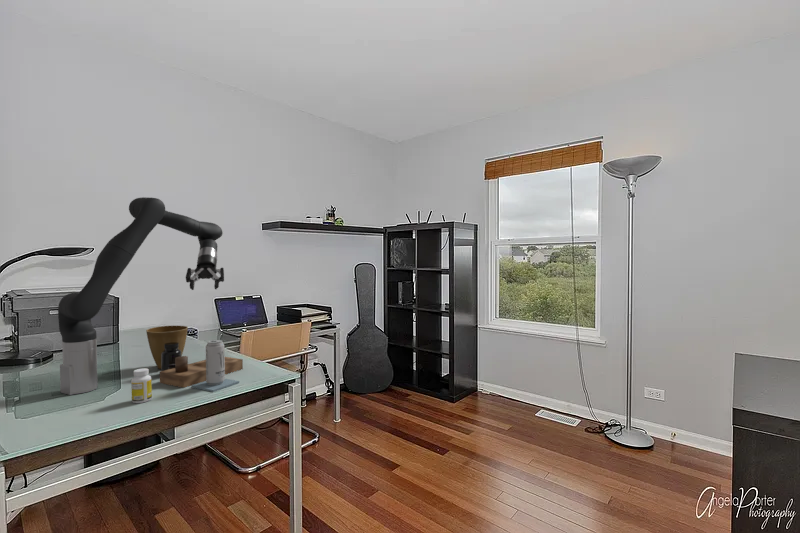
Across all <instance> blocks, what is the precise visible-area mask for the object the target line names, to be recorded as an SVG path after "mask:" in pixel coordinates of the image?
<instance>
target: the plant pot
mask: <svg viewBox="0 0 800 533" xmlns="http://www.w3.org/2000/svg"><path fill="white" fill-rule="evenodd" d="M187 335H188V326H185V325H161V326H155V327H154V326H153V327H152V328H148V329H146V336H147V341H148V345H149V350H150V353H151V355H152V359H153V360H154V363H155V365H156V367H157V369H159V370H161V354H162V352H163V351H164V350H165V349H164V344H165V343H171V342H177V343H179V348H178V349H179V350H181V356H183V353H184V349H185V346H186V342H187V341H186V340H187Z"/></svg>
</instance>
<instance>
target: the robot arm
mask: <svg viewBox="0 0 800 533" xmlns="http://www.w3.org/2000/svg"><path fill="white" fill-rule="evenodd" d="M128 205H129V206H128V212H129V213H130V215H131V217H133V219H134V220H132V222H131V223H130V224H129V225H128V226H127V227H125V228H123V229H122V230H121V231H120V232H119V233H117V234H116V235H114V236H113V237H112V238H111V239H110V240H108V242H106V244H105V245H104V246H103V248H102V249H101V251H100V253H99V254H98V255H97V257H96V260H95V264H94V267H93V271H92V275H91V276H90V278H89V279H88V281H87V282H86V284H85V285H84V286H83V288H82V289H81V290H80V291H79V292H71V293H68V294H65V295H64V296H63V297H62V298H61V299H60V301H59V303H58V306H57V307H58V308H57V317H58V319H57V320H58V329H59V330H58V331H59V333H60V335H61V343H62V344H61V345H62V347H61V348H62V363H60V365H59V381H60V382H59V387H60V388H59V389H60V393H61V394H65V395H68V396H73V395H77V394H83V393H89V392H91V391H95V390H97V389H98V387H99V386H98V383H99V381H98V346H97V345H98V344H97V343H98V342H97V337H98V336H97V335H98V334H97V330H96V329H95V327H94V326H93V325H92V319H93V318H95V317H96V316H97V315H98V313H99V312H100V310H101V308H102V307H103V306H104V303H105V301H106V299H107V297H108V295H109V294H110V292H111V290H112V288H113V287H114V285H115V284H116V282H117V281H118V279H120V277H121V275H122V274H123V272H124V271H125V270H126V269H127V267H128V265H129V264H130V263H131V261H132V259H133V258H134V256H135V255H136V253H137V252H138V250H139V249H140V247H141V246H142V244H143V243H144V242H145V240H146V239H147V237H148V235H149V234H150V233H151V232H152V230H154V228H156V226H157V225H161V226H165V227H168V228H171V229H173V230H176V231H177V232H178V231H179V232H181V233H184V234H186V235H189V236H192V237H197V240H198V242H199V243H198V244H199V251H198V255H197V260H196V261H197V262H196V268H194V269H192V268H191V267H187V269H186V274H185V281H186V282H185V283H189V289H191V291H194V290H195V283H196V282H198V281H200V279H202V280H204V279H205V280H210V279H211V280H212V281H214V286H213V287H214V290H218V288H219V287H220V286H219V285H220V282H222V283H223V282H225V270H224V267H220V268H219V269H218V268H217V265H218V264H217V263H218V262H217V261H218V243H217V242H216V240H218V239H220V238H221V237H222V236H223V234H224V233H223V232H224V231H223V229H222V227H220V226H219V225H218V224H216V223H213V222H207V221H199V220H197V219H195V218H192V217H189V216H186V215H183V214H179V213H175V212H172V211H168V210H166V205H165V203H164V201H163V200H162V199H159V198H156V197H144V196H143V197H136V198H134V199H132V200H131V202H130V203H129V204H128ZM217 274H219V276H218V275H217Z"/></svg>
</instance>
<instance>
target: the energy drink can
mask: <svg viewBox="0 0 800 533" xmlns="http://www.w3.org/2000/svg"><path fill="white" fill-rule="evenodd" d="M225 357H226V356H225V344H224V342H223V339H212V340H208V341H207V344H206V346H205V360H206V382H207V383H208V385H219V384H222V383H223V381H224V380H225V379H226V375H225Z"/></svg>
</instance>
